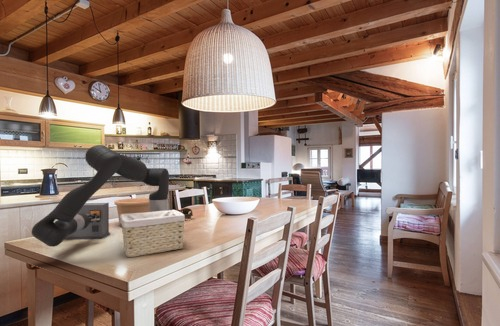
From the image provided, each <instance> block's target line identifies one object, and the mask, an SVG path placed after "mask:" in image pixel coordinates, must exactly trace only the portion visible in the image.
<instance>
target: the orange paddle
mask: <svg viewBox="0 0 500 326" xmlns="http://www.w3.org/2000/svg"><path fill="white" fill-rule="evenodd" d="M94 213H96V214H97V215H98V216H100V220H101V210H92V211H91V214H94Z"/></svg>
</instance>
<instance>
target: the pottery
mask: <svg viewBox="0 0 500 326" xmlns="http://www.w3.org/2000/svg"><path fill="white" fill-rule="evenodd" d="M114 205H115V206H116V211H117V217H118V223H119V227H121V228H122V224H121V223H120V220H121V218H120V216H121V215H122V214H131V213H145V212H149V197H135V198H133V197H132V198H121V199H117V200H115V201H114Z"/></svg>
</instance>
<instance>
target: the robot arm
mask: <svg viewBox="0 0 500 326" xmlns="http://www.w3.org/2000/svg"><path fill="white" fill-rule="evenodd" d="M85 162H86V163H87V164H88V165H89V166H90V167H91V168H92V169H93V170H95V171H96V173H95V174H94V176H93V177H92V178H91V179H90V180H89V181H87V182H86V183H84V184H82V185H80V186H78V187H76V188H74V189H71V190H70V191H69V192H67V193H66V194H65V195H64V196H63V197H62V199H61V200H60V201H59V203H58V204H57V205H56V206H55V207H54V209H53V210H52V211H50V213H48V214H47V215H46V216H45V217H43V218H42V219H41V220H39V221H38V222H36V223H35V224H34V225H33V226H32V229H31V235H32V236H33V237H34V238H36V239H37V240H39V241H40V242H42V243H43V244H44V245H46V246H48V247H57V246H59V245H61V243H62V242H63V241H64V240H66V239H65V237H67V236H68V235H70V234H73V233H76V232H79V231H81V230H83V229H85V228H86V227H87V226H88V225H89V223H92V222H93V221H95V222H100V216H98V215H97V214H96V213H94V214H90V215H89V214H88V215H86V214H85V213H78V212H79V211H80V209H81V208H82V207H83V205H84V204H85V203H88V202H87V201H88V200H89V199H91V197H93V195H94V194H95V193H97V192H98V191H99V190H100V189H101V188H102V187H103V186H104V185H105V184H106V183H107V182H108V181H109V180H110V179H111V178H112V177H113V176H114V175H115V174H117V175H119V176H121V177H122V178H125V179H127V180H130V181H135V182H141V183H144V184H146V185H148V186H150V187H158V188H157V190H156V191H154V192H152V193H150V194H149V196H148V198H149V212H156V211H168V210H169V208H168V207H169V205H168V204H169V198H168V197H169V191H170V189H169V186H170V174H169V170H168V169H167V168H163V167H161V168H160V167H159V168H157V167H156V168H155V167H153V168H149V167H147V165H146V163H144V162H143V161H141V160H138V159H136V158H133V157H131V156H127V155H124V154H121V153H118V152H116V151H114V150H113V149H111V148H109V147H108V146H106V145H102V144H96V145H93V146H92V147H90V148H88V149H87V150H86V152H85Z"/></svg>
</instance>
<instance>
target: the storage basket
mask: <svg viewBox="0 0 500 326" xmlns="http://www.w3.org/2000/svg"><path fill="white" fill-rule="evenodd" d="M120 218H121V220H120V223H121V224H122V227H121V229H122V231H121V232H122V239H123V240H122V241H123V250H124V252H125V254H126V257H128V258H132V257H133V258H135V257H139V256H145V255H152V254H157V253H165V252H169V251H174V250H181V249H184V248H183V246H184V230H185V229H184V228H185V220H186V219H185V215H184V214H182V213H181V212H179V211H177V209H168V211H156V212H145V213H131V214H122V215H121V216H120Z"/></svg>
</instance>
